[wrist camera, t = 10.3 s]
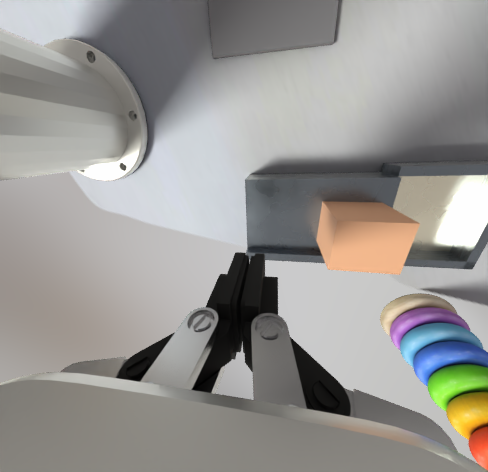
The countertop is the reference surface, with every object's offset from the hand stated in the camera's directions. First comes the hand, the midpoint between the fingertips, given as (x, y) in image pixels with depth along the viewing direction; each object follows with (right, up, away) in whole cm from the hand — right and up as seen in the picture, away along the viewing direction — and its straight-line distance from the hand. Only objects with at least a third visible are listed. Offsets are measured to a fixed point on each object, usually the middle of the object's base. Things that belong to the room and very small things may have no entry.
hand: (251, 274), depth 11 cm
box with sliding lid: (+11, +5, +10) cm, 16 cm away
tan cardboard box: (+9, +3, +7) cm, 12 cm away
